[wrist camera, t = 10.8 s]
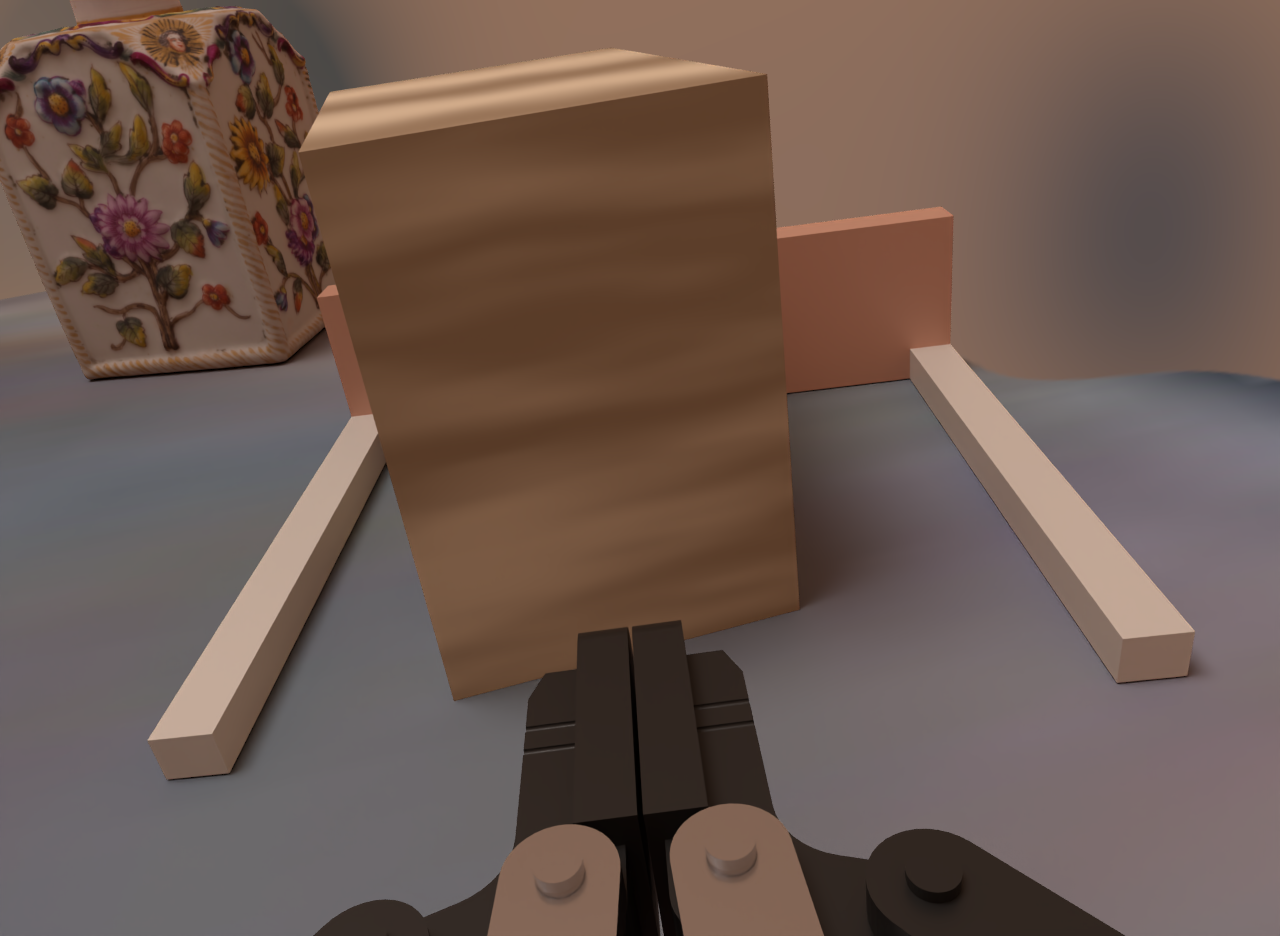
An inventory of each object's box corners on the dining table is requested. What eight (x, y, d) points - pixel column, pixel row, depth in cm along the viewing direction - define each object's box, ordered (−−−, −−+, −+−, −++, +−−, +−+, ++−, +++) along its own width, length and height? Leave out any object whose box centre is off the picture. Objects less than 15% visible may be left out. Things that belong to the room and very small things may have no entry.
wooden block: (799, 611, 25) (767, 74, 19) (454, 702, 23) (297, 152, 17) (658, 410, 37) (611, 47, 31) (426, 462, 35) (330, 92, 29)
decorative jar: (374, 292, 57) (284, -44, 49) (292, 366, 47) (161, -43, 39) (192, 310, 59) (77, -12, 51) (76, 384, 49) (-93, -3, 41)
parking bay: (1186, 675, 21) (1230, 428, 18) (166, 779, 22) (60, 562, 19) (938, 359, 37) (941, 206, 35) (369, 427, 39) (328, 285, 36)
